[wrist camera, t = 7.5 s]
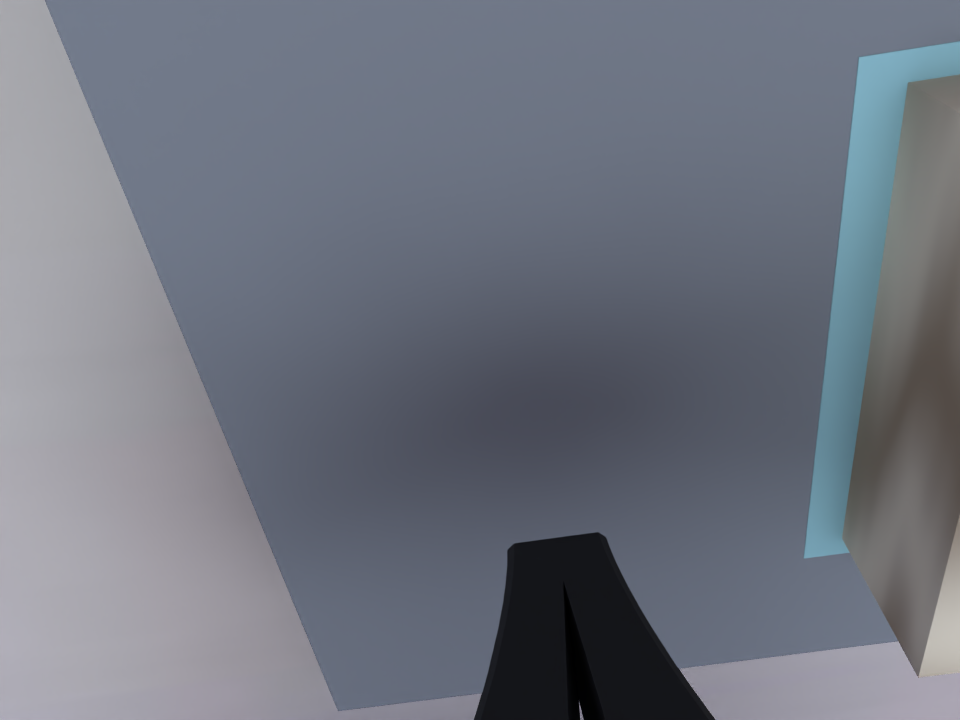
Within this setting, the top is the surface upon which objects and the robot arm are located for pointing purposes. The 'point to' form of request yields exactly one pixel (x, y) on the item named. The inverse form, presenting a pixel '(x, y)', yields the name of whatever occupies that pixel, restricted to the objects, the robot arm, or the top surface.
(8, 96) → the top surface
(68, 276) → the top surface
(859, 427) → the maple T block
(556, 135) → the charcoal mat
